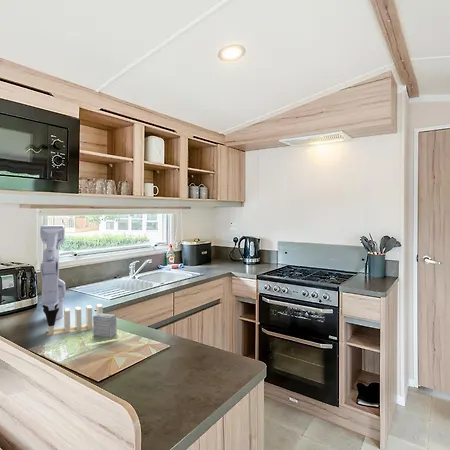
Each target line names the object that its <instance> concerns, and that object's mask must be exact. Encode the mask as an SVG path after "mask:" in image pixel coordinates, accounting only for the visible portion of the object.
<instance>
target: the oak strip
mask: <svg viewBox="0 0 450 450" xmlns="http://www.w3.org/2000/svg"><path fill="white" fill-rule="evenodd" d="M81 326H82V329H81V330H77V329H76V327H75V325H70V331H68V332H65V329H64V326H63V327H58V328H57V327H56V328H54V334H50V335H49V333H48V329H46V335H47V337H51V336H57V335H62V334H63V335H64V334H70V333H75V332H82V331H87V330H92V329H93V322H92V328H88V327H87V326H86V323H84V324H83V323H81Z"/></svg>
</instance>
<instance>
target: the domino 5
mask: <svg viewBox="0 0 450 450" xmlns="http://www.w3.org/2000/svg"><path fill="white" fill-rule="evenodd" d="M95 307H96V309H95V310H96V312H95V313H96V314H95V315H97V314H100V313H102V314H104V306H103V304H102V303H97V304H96V306H95Z"/></svg>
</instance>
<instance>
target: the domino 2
mask: <svg viewBox="0 0 450 450" xmlns="http://www.w3.org/2000/svg"><path fill="white" fill-rule="evenodd" d="M63 316H64V317H63V327H64V329H65V332H68V331H70V326H71V309H70V308H69V307H65V308H64V307H63Z"/></svg>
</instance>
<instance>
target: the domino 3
mask: <svg viewBox="0 0 450 450" xmlns="http://www.w3.org/2000/svg"><path fill="white" fill-rule="evenodd" d="M74 313H75V314H74V316H75V317H74V318H75V321H74V323H75V325H74V326H75V327H76V329H77V330H81V329H82V326H81V325H82V308H81V307H80V306H75V307H74Z"/></svg>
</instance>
